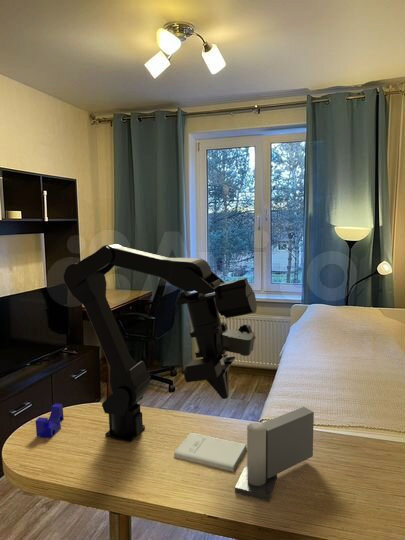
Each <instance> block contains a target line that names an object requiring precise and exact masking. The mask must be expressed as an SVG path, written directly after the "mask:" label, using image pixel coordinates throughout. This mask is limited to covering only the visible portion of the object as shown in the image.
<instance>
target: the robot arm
mask: <svg viewBox="0 0 405 540" xmlns="http://www.w3.org/2000/svg"><path fill="white" fill-rule="evenodd" d="M115 266H116V267H119V268H123V269H126V270H131V271H134V272H139V273H143V274H146V275H151V276H153V277H158V278H160V279H162V280H163V281H166V282H167V283H168V284H169V285H171V286H173V287H175V288H177V289H180V290H182V291H181V292H180V294H179V296H178V298H177V300H176V301H175V306H180V305H186V309H187V312H188V316H189V320H190V324H191V328H192V330H191V331H190V332H189V335H190V338H194V339H195V344H196V347H197V351H196V352H195V354H194V355H195V358H196V359H192V360H191V361H190V363H188V364H187V365H186V366H185V368H184V369H183V371H182V372H183V376H184V380H185V382H186V383H191V382H192V383H193V382H200V381H207V383H208V384H209V385H210V386H211V387H212V388H213V389H214V391H216V393H217V394H218V395H219V396H220V398H221V399H222V400H226V399H228V398H229V395H230V393H229V392H230V391H229V390H230V388H229V385H230V384H229V383H230V382H229V381H230V378H229V377H230V367H231V365H232V364H233V362H234V361H235V359H236V357H235V356H229V354H228V353H229V352H230V353H233V354H239V355H241V356H243V357H249V356H250V355H251V353H252V351H254V345H255V344H254V343H255V340H256V337H257V336H256V335H255V331H252V327H251V325H250V324H245V323H243V324H241V325H240V326H239V328H238V329H237V328H234V329H229V328H228V325H227V323H226V322H225V321H222V320H221V316H223V317H224V318H225V319H230V318H235V317H240V316H246V315H251V314H255V313H257V299H256V295H255V294H256V293H255V292H254V291H253V288H252V286H251V284H250V283H249V281H248V278H247V277H243V278H239V279H237V280H234V281H229V282H225V280H223V279H222V278H221V277H220V276H218V275H217V274H216V273H215V272H214V271H212V269H211V266H210V265H209V263H208V261H206V259H202V258H199V257H198V258H197V257H167V256H163V255H159V254H154V253H150V252H146V251H142V250H138V249H134V248H131V247H130V248H129V247H125V246H123V245H120V244H119V243H118V244H117V243H112V244H106V245H102V246H101V247H100V248H99V249H97V250H96V251H95V252H94V253H92V254H90V255H88V256H87V257H85V258H83V259H82V260H80V261H78V262H76V263H72V264H69V265H68V266H67V267H66V268H65V270H64V273H63V275H62V277H63V282H64V284H65V287H66V288H67V290H68V291H69V292H70V294H71V296H72V297H73V298H74V299H75V300H76V301H78V302H79V303H81V305H82V306H83V307H84V309H85V312H86V314H87V316H88V319H89V321H90V324H91V326H92V327H93V328H92V329H93V331H94V332H95V335H96V338H97V340H98V343H99V345H100V347H101V349H102V351H103V354H104V356H105V359H106V362H107V364H108V366H109V379H108V382H109V388H110V390H111V394H110V395H109V396H108V397H107V398H106V399H105V400H104V401H103V402H101V407H102V409H103V412H104V413H105V414H108V426H109V427H108V428H109V430H107V432H105V433H104V435H105V437H107V438H111V439H115V440H120V441H122V442H123V441H124V442H129V443H130V442H132V441H133V440H134V439H135V438H136V437H137V436H138V435H139V434H140V433H141V432H142V431H143V430H144V429H145V428H146V425H145V424H143V411H141V403H140V404H139V402H140V401H142V400H143V398H144V395H146V394H147V392H148V391H149V390H150V387H151V380H150V378H151V377H152V376H151V375H150V373H149V372H148V369H147V367H146V364H145V362H144V361H143V360H140V361H139V362H138V361H136V360H135V359H134V358H133V357H132V356H131V353H130V351H129V349H128V346H127V344H126V342H125V339H124V337H123V334H122V333H121V330H120V328H119V325H118V322H117V320H116V319H115V315H114V313H113V311H112V309H111V306H110V304H109V301H108V299H107V280H106V276H105V275H106V274H108V273H109V272H110V271H112V270H113V269H114V267H115Z"/></svg>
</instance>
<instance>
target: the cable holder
mask: <svg viewBox="0 0 405 540" xmlns="http://www.w3.org/2000/svg"><path fill="white" fill-rule="evenodd" d="M63 406H64V405H63V403H53V404H52V406H50V407H51V411H50V414H49V417H41V416H39V417H38V418H37V419H36V420H35V432H36V438H45V439H46V438H47V439H52V438H53V437H55V435H56V434H57V433H58V432H60V430H61V429H62V425H61V424H62V421H63V420H64V407H63Z"/></svg>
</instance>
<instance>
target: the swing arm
mask: <svg viewBox="0 0 405 540" xmlns="http://www.w3.org/2000/svg"><path fill="white" fill-rule="evenodd" d="M314 414H315V413H314V411H313V410H311V409H309V408H307V407H305V406H303V407H299V408H297V409H294V410H292V411H289V412H287V413H284V414H282V415H280V416H277V417H275V418H274V417H273V418H272V419H270V420H267V421H264V422H251V423H249V424H248V425H247V426H246V431H247V433H246V436H247V438H246V445H247V449H246V451H247V456H246V460H247V461H246V464H247V465H246V468H247V481H248V482H249V483H250V484H251V485H254V486H261V485H263V484H264V483H265V482H266V478H267V479H268V478H270V477H272V476H274V475H276V474H277V475H279V474H280V473H282V472H284V471H286V470H289V469H290V468H292V467H295V466H296V465H298V464H300V463H302V462H304V461H306V460H309V459H310V458H312V457H313V456H314V426H315V425H314V422H315V419H314V417H315V416H314Z"/></svg>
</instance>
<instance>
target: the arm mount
mask: <svg viewBox="0 0 405 540" xmlns="http://www.w3.org/2000/svg"><path fill="white" fill-rule="evenodd" d="M277 480H278V474H276V475H274V476H272V477H270V478H268V479H267V478H266V482H265V483H264V484H263V485H261V486H254V485H251V484H250V483H249V482H248V481H247V466H246V467H245V466H244V468H243V470H242V473H241V474H240V476H239V478H238V480H237V483H236V485H235V487H234V493H235V494H239V495H242V496H247V497H251V498H254V499H257V500H262V501H266V502H270V501H271V498H272V495H273V492H274V489H275V487H276V484H277Z"/></svg>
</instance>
